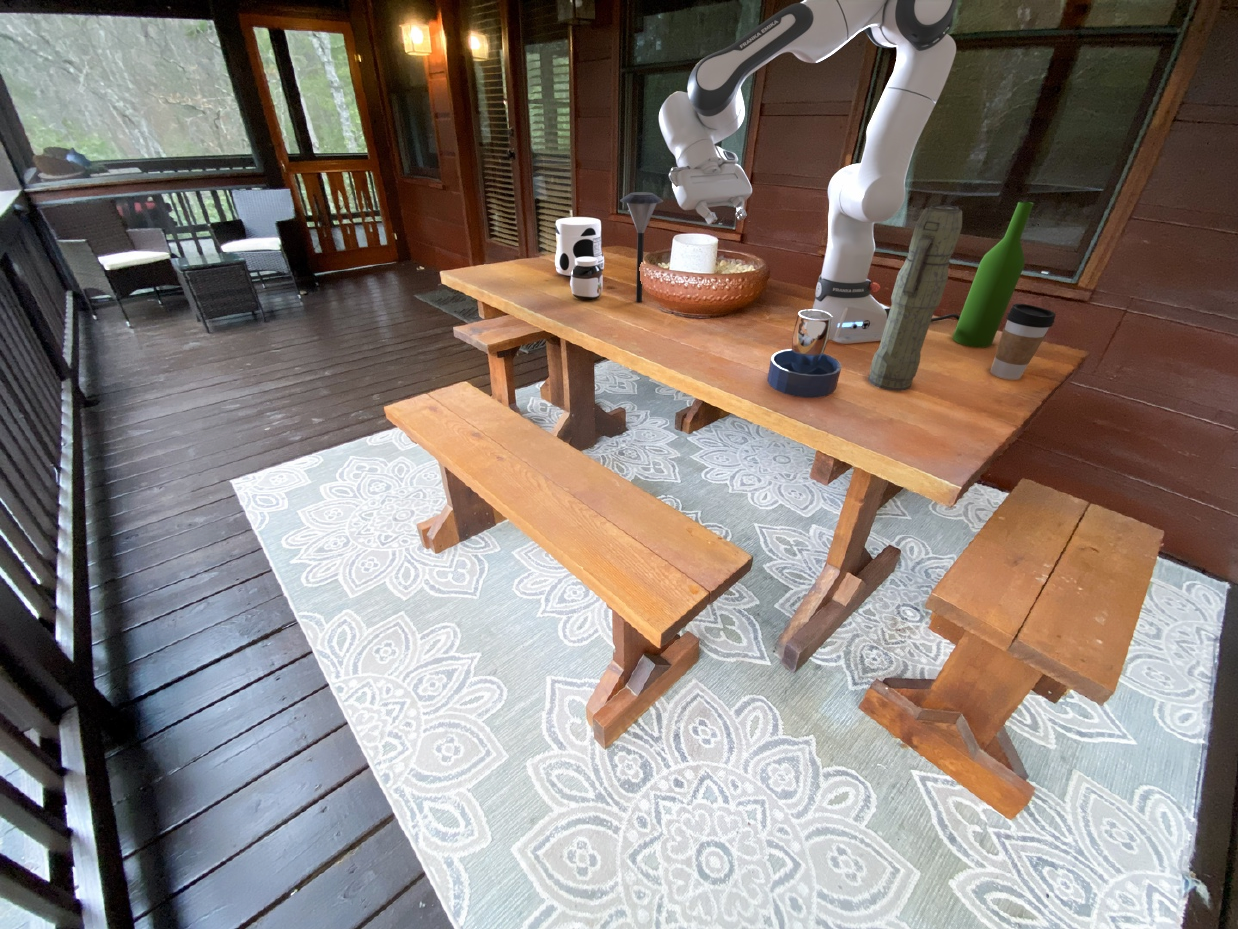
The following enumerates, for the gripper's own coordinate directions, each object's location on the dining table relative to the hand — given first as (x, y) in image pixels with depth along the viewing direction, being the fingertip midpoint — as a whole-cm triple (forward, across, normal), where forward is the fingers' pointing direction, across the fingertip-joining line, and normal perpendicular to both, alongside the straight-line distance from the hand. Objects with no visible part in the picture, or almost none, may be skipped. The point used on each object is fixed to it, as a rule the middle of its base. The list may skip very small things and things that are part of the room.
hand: (728, 220), depth 117 cm
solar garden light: (-8, +9, +50) cm, 51 cm away
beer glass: (+39, -1, +2) cm, 39 cm away
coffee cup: (+57, +42, -15) cm, 72 cm away
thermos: (+47, +16, -6) cm, 50 cm away
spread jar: (-18, -2, +60) cm, 63 cm away
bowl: (+40, -1, +2) cm, 40 cm away
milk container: (-34, +11, +76) cm, 83 cm away
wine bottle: (+47, +57, -5) cm, 74 cm away
